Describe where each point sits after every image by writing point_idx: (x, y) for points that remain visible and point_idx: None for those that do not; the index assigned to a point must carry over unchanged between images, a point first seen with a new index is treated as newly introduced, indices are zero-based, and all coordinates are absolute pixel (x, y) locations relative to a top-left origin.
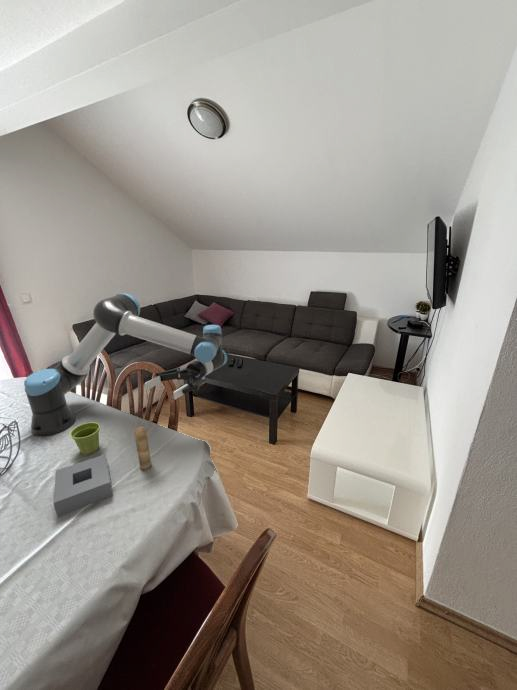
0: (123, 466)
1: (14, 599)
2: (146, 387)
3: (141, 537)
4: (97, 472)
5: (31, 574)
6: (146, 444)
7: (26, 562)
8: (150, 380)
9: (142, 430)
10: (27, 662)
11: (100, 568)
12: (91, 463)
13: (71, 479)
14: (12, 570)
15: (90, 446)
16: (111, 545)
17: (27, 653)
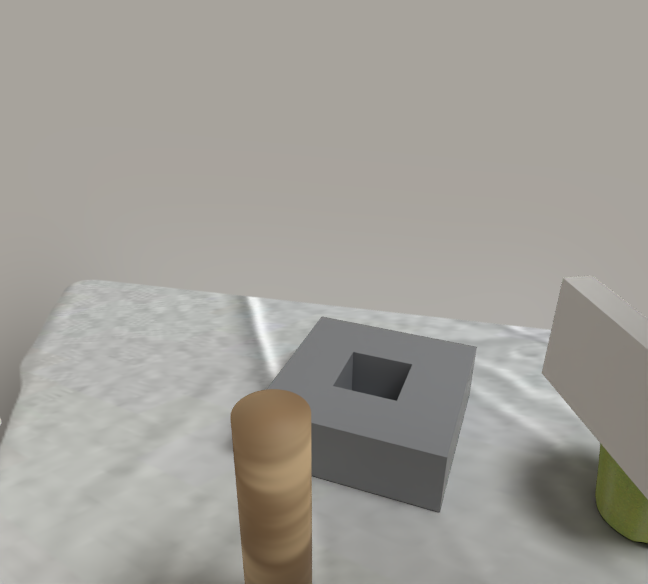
0: (381, 551)
1: (190, 296)
2: (553, 339)
3: (15, 441)
4: (347, 403)
5: (211, 313)
6: (238, 506)
7: (248, 313)
8: (641, 328)
9: (250, 418)
10: (73, 290)
11: (73, 367)
12: (424, 408)
13: (384, 356)
14: (255, 302)
15: (600, 469)
16: (93, 395)
17: (85, 291)
